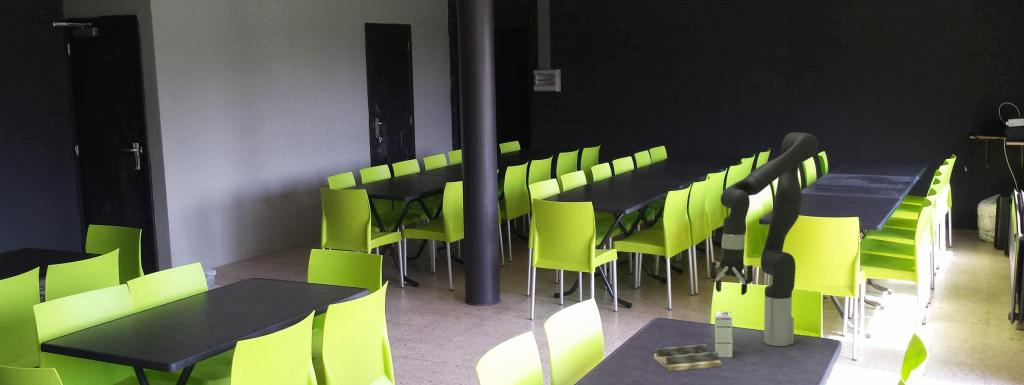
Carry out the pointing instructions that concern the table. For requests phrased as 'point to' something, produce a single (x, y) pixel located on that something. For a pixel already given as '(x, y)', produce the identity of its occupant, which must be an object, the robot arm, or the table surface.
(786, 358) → the table surface
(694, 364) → the rail board
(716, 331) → the syrup box
